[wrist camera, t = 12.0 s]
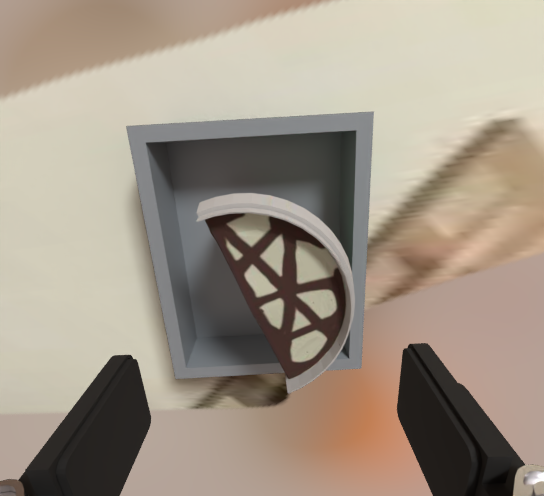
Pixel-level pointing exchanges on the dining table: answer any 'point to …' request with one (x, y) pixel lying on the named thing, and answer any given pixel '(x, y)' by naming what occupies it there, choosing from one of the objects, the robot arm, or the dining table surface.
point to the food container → (286, 278)
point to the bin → (245, 179)
